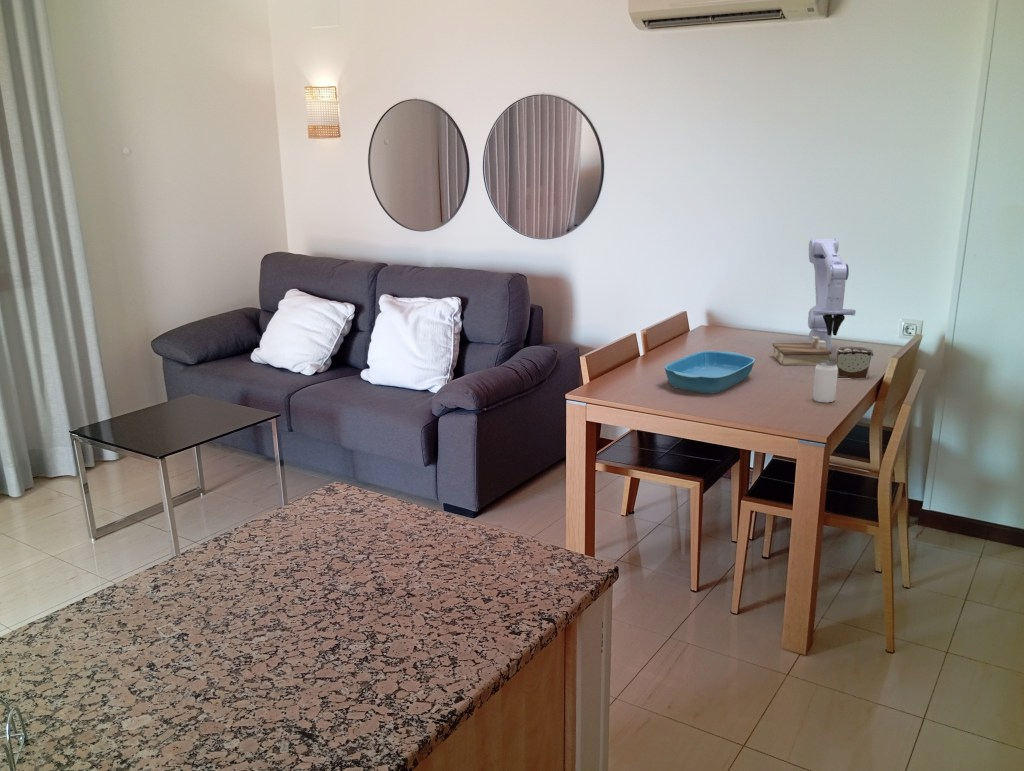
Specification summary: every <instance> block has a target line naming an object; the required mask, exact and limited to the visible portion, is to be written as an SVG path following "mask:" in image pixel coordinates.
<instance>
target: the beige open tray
mask: <svg viewBox="0 0 1024 771" xmlns="http://www.w3.org/2000/svg"><path fill="white" fill-rule="evenodd" d="M773 358H774V359H775V360H776V361H777V362H779V363H780V364H781V365H782V366H817V364H818V363H817V362H819V361H830V354H827V355H783V354H782V353H780V352H779V351H778V350H777V349H776V348H774V347H773Z"/></svg>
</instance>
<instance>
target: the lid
mask: <svg viewBox="0 0 1024 771" xmlns="http://www.w3.org/2000/svg"><path fill="white" fill-rule="evenodd" d="M772 347H773V349H774V348H776V349H777V350H778V351H779V352H780V353H782V354H783V355H827V354H829V355H832V353H833V352H832V351H831V349H830V350H828V349H827V348H826V342H825V341H824V340H822V339H820V338H819V337H817V336H812V338H811V343H808V342H790V343H789V342H786V343H785V342H778V343H776V342H775V343H774V342H773V343H772Z"/></svg>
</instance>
